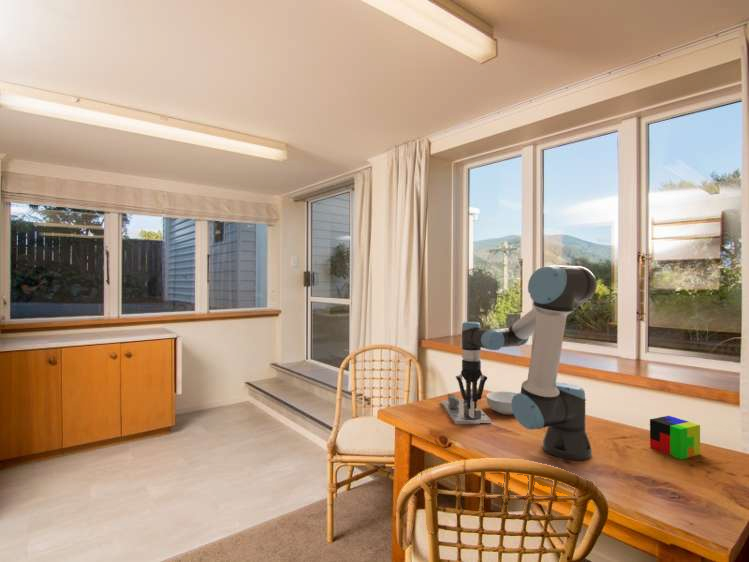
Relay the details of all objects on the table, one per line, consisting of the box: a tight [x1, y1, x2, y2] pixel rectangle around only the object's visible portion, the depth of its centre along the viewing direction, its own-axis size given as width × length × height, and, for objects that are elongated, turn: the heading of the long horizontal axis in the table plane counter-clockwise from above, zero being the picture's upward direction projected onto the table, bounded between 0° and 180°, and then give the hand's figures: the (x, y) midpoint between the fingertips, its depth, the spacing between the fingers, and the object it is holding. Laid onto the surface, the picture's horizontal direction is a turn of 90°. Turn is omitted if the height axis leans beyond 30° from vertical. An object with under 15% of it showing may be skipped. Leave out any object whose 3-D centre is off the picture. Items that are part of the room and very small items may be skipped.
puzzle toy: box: [649, 415, 701, 460], centre depth 135 cm, size 10×10×10 cm
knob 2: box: [464, 403, 481, 420], centre depth 165 cm, size 10×4×4 cm, turn 16°
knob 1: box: [447, 392, 460, 409], centre depth 180 cm, size 10×4×4 cm, turn 2°
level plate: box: [440, 399, 492, 425], centre depth 176 cm, size 28×15×2 cm, turn 2°
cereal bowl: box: [486, 390, 518, 416], centre depth 176 cm, size 17×17×7 cm
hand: (471, 416), depth 161 cm, fingers closed
